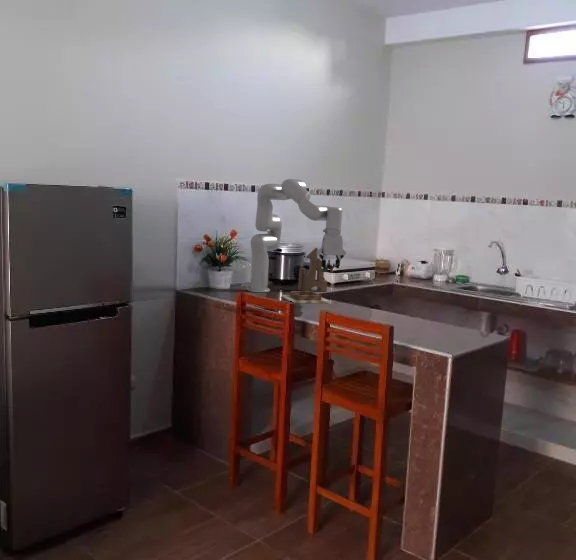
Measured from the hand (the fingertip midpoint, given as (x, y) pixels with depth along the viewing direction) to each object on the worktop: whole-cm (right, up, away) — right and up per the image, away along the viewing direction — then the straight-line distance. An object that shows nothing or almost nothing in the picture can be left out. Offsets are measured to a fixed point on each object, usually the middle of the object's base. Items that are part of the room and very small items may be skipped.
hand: (330, 267), depth 317 cm
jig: (-12, -17, +14) cm, 25 cm away
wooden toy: (-7, -13, +46) cm, 48 cm away
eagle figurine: (-1, -2, +2) cm, 3 cm away
